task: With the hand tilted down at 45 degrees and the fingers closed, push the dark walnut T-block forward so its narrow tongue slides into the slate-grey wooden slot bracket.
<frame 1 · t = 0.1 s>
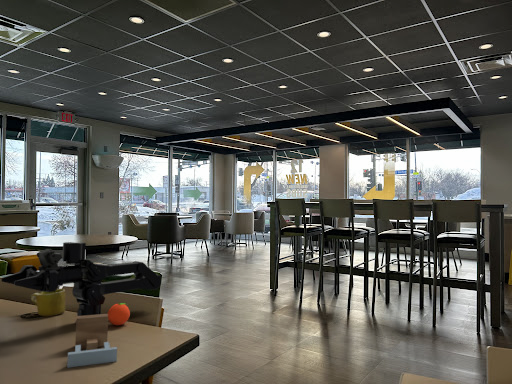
hand: (7, 281, 111), 17 cm above the table, fingers open, 9 cm apart
mug: (46, 314, 140), on the table
t block: (91, 345, 107), on the table
slot bracket: (92, 358, 97), on the table
clementine: (119, 325, 128), on the table
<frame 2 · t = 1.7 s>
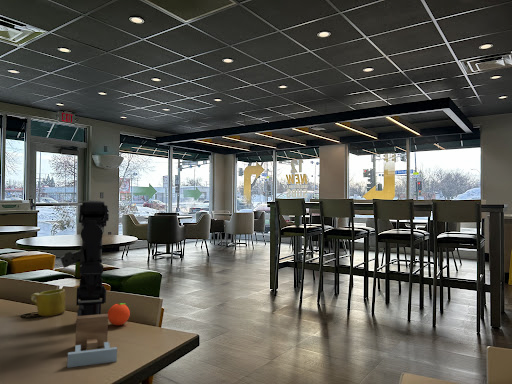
hand: (89, 293, 118), 12 cm above the table, fingers open, 6 cm apart
nothing on the table moved.
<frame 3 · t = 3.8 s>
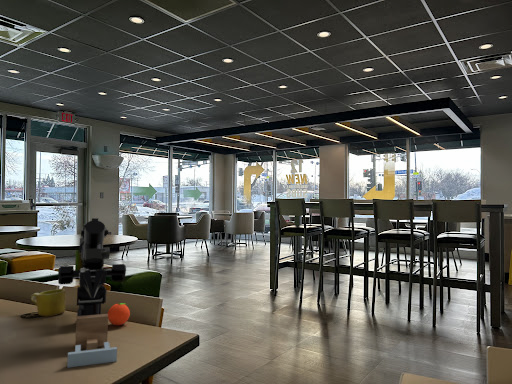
hand: (92, 297, 112), 12 cm above the table, fingers closed
nothing on the table moved.
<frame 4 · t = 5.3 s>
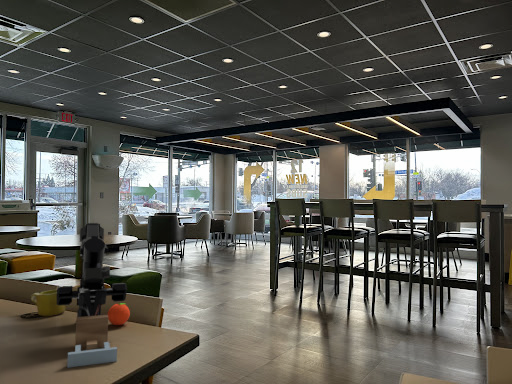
hand: (92, 319, 108), 7 cm above the table, fingers closed, pressing on t block
t block: (91, 347, 106), on the table, touching gripper
everything else where it was.
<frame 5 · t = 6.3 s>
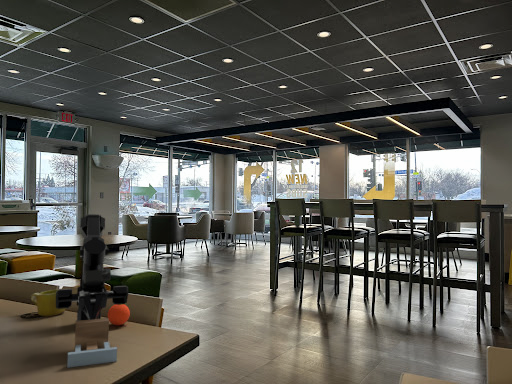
hand: (92, 323, 104), 7 cm above the table, fingers closed, pressing on t block
t block: (91, 351, 102), on the table, touching gripper
everything else where it was.
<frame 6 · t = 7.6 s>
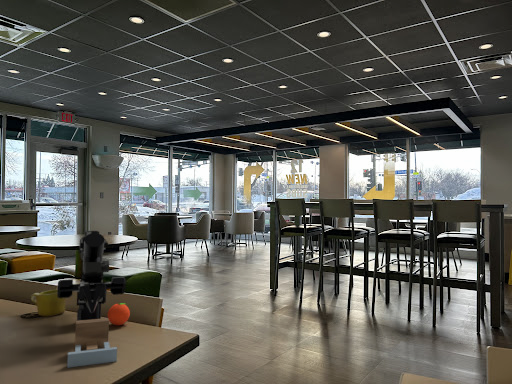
hand: (92, 311, 111), 8 cm above the table, fingers closed
t block: (91, 351, 102), on the table
everything else where it was.
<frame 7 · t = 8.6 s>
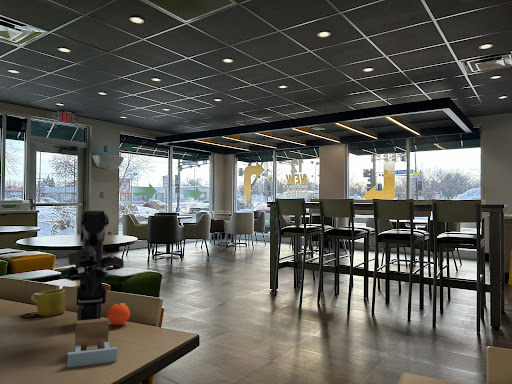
hand: (91, 296, 115), 12 cm above the table, fingers closed
nothing on the table moved.
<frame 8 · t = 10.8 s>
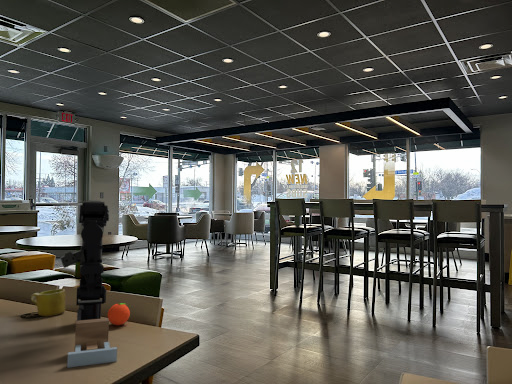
hand: (90, 293, 118), 12 cm above the table, fingers closed
nothing on the table moved.
at the end: t block 0.5 cm from the target spot on the table beside the slot bracket, on the table; t block moved 5.0 cm from its start; t block tilted 0° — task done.
